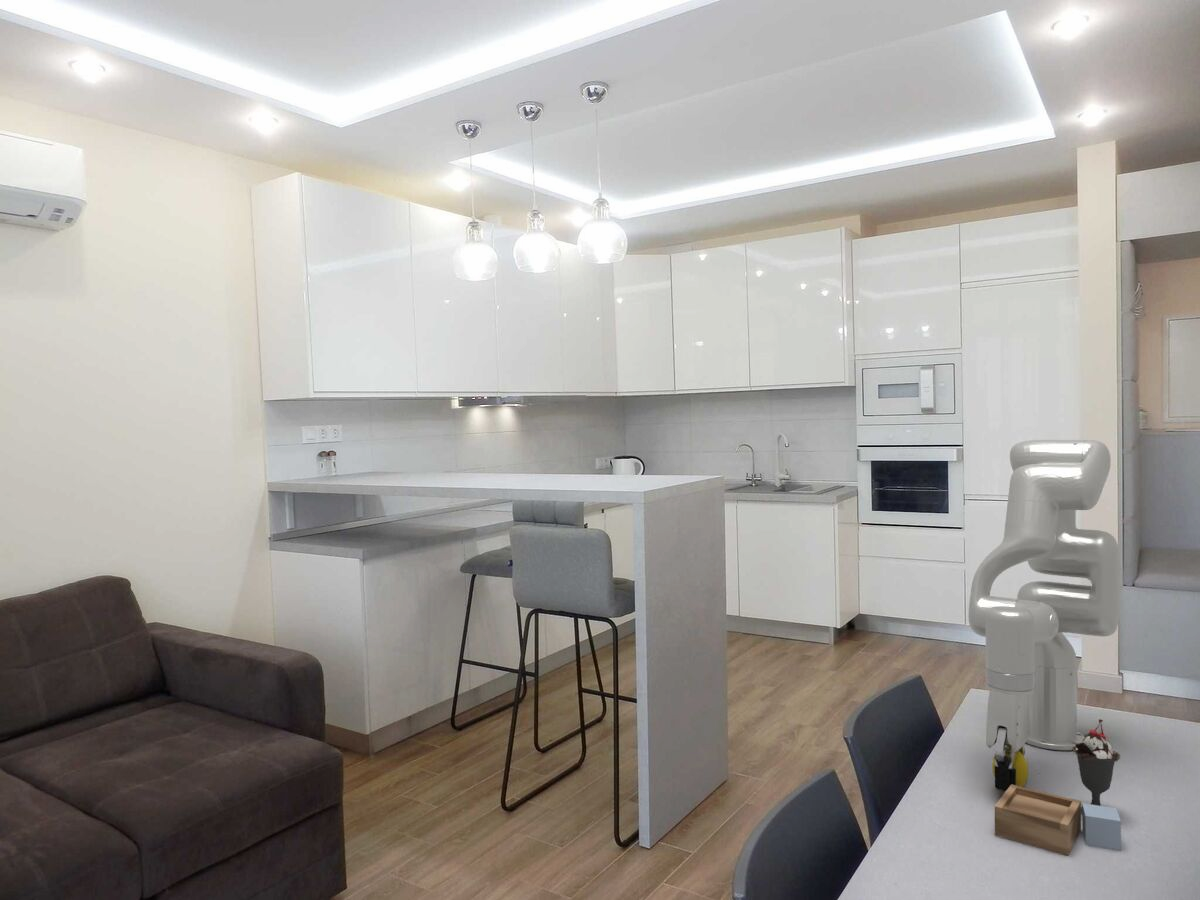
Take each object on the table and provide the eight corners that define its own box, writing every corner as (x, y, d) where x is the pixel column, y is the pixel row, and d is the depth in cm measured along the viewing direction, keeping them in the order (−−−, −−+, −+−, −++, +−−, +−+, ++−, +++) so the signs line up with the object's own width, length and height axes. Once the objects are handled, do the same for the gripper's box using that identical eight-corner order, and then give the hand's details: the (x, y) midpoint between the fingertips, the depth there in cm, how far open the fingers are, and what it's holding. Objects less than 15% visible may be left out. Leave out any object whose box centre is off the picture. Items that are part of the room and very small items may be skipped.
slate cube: (1082, 831, 128) (1082, 803, 128) (1116, 837, 126) (1116, 808, 126) (1085, 845, 124) (1085, 815, 124) (1120, 851, 122) (1120, 821, 122)
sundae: (1113, 807, 136) (1113, 716, 135) (1125, 825, 129) (1124, 731, 129) (1068, 801, 138) (1068, 713, 137) (1077, 820, 131) (1077, 726, 131)
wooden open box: (1011, 811, 135) (1011, 784, 135) (1081, 829, 128) (1081, 801, 128) (994, 835, 127) (994, 806, 127) (1068, 855, 121) (1067, 825, 121)
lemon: (1032, 800, 139) (1032, 752, 139) (997, 797, 140) (997, 750, 140) (1022, 786, 144) (1022, 741, 144) (988, 784, 145) (988, 738, 145)
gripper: (999, 665, 151) (1000, 763, 151) (972, 687, 137) (972, 795, 138) (1045, 672, 146) (1045, 773, 146) (1021, 696, 133) (1021, 808, 133)
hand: (1010, 783), depth 142 cm, fingers closed on lemon, 5 cm apart
